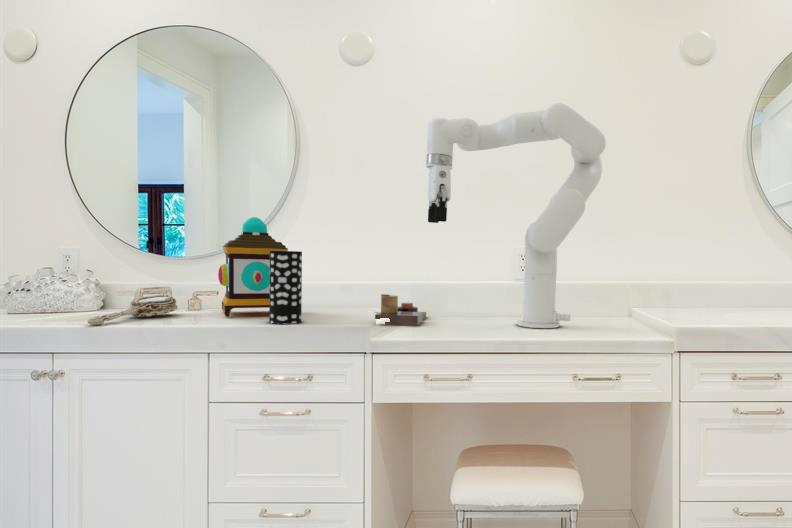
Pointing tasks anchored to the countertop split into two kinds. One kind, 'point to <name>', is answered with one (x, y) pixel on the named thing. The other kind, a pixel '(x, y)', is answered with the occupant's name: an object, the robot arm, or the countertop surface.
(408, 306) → the button
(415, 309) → the button block
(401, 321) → the panel
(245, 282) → the decorative lantern
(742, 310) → the countertop surface
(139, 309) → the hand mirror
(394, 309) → the knob
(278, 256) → the white-spotted black cylinder
